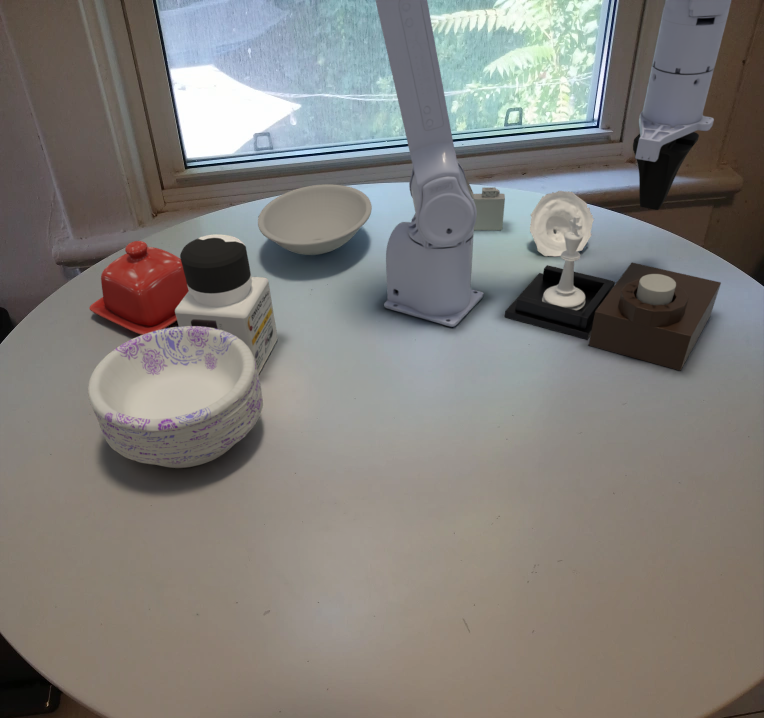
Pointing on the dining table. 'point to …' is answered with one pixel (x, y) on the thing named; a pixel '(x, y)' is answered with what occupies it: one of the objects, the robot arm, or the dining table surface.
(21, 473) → the dining table surface
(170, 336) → the paper bowls
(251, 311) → the container
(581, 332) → the pan
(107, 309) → the butter dish
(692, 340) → the brown push button box
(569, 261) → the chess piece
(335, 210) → the dish
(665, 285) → the button
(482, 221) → the lighter
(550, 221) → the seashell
